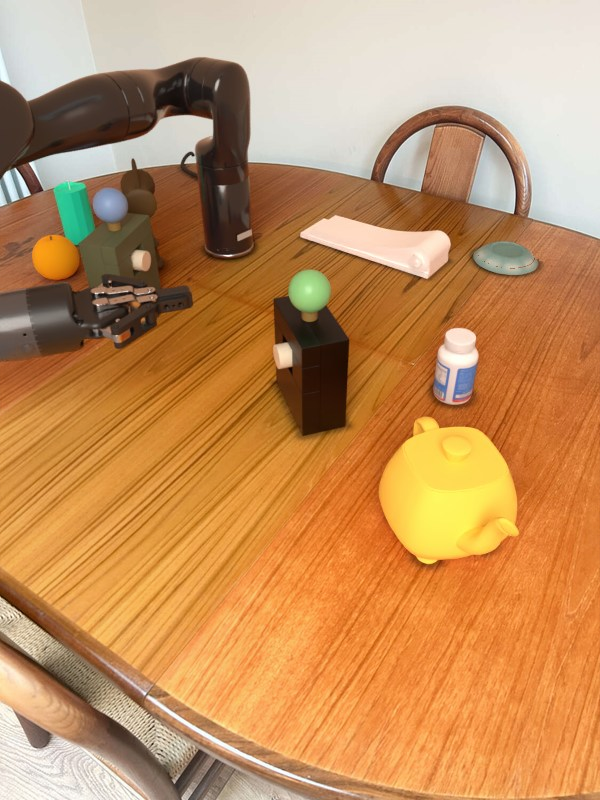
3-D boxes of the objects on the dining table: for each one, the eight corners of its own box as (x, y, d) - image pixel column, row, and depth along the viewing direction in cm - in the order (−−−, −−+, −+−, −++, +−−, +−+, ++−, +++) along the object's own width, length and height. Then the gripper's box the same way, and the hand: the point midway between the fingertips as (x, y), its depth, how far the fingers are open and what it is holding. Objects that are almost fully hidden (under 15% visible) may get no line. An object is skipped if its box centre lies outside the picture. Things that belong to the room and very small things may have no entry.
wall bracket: (324, 187, 130) (453, 223, 117) (328, 217, 136) (451, 255, 123) (295, 216, 125) (426, 257, 113) (300, 246, 131) (426, 288, 119)
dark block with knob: (302, 436, 86) (301, 301, 73) (276, 382, 94) (271, 253, 81) (345, 426, 87) (351, 292, 74) (315, 374, 96) (317, 246, 83)
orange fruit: (35, 288, 116) (23, 249, 111) (40, 267, 122) (29, 229, 117) (81, 283, 117) (72, 244, 112) (84, 262, 123) (75, 225, 118)
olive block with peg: (161, 291, 115) (143, 175, 102) (130, 327, 106) (106, 206, 93) (130, 286, 116) (108, 172, 103) (97, 322, 107) (68, 202, 94)
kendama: (165, 253, 126) (149, 147, 113) (169, 276, 119) (152, 166, 106) (133, 256, 125) (113, 150, 112) (135, 281, 118) (114, 170, 105)
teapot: (461, 461, 82) (478, 381, 74) (551, 595, 67) (584, 513, 59) (357, 484, 79) (363, 403, 71) (427, 629, 64) (444, 547, 56)
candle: (89, 246, 128) (75, 186, 121) (60, 243, 129) (45, 184, 122) (102, 232, 133) (89, 174, 125) (74, 230, 134) (60, 172, 126)
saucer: (469, 234, 126) (468, 245, 127) (481, 264, 117) (479, 275, 118) (531, 234, 125) (529, 245, 127) (548, 264, 116) (545, 275, 118)
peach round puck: (152, 265, 106) (149, 247, 104) (143, 274, 104) (140, 256, 102) (138, 263, 107) (135, 245, 105) (130, 273, 105) (126, 254, 102)
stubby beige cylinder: (280, 374, 84) (279, 353, 82) (273, 360, 86) (272, 340, 84) (298, 370, 84) (298, 350, 82) (290, 356, 87) (290, 336, 85)
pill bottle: (473, 386, 93) (485, 328, 87) (468, 409, 89) (480, 351, 83) (435, 378, 95) (444, 321, 89) (428, 401, 91) (437, 343, 85)
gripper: (22, 325, 63) (199, 295, 67) (22, 263, 73) (177, 240, 77) (42, 386, 68) (206, 354, 72) (40, 320, 78) (184, 296, 82)
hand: (191, 296), depth 75 cm, fingers closed
